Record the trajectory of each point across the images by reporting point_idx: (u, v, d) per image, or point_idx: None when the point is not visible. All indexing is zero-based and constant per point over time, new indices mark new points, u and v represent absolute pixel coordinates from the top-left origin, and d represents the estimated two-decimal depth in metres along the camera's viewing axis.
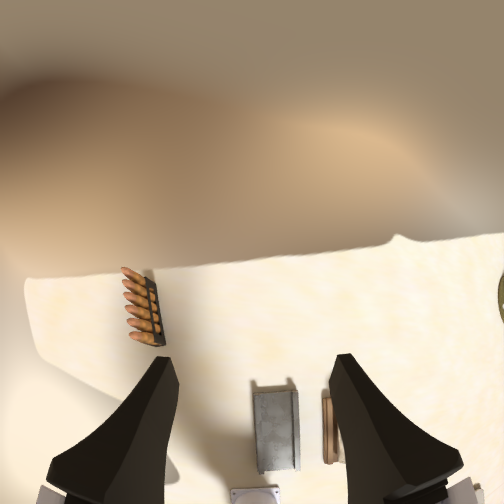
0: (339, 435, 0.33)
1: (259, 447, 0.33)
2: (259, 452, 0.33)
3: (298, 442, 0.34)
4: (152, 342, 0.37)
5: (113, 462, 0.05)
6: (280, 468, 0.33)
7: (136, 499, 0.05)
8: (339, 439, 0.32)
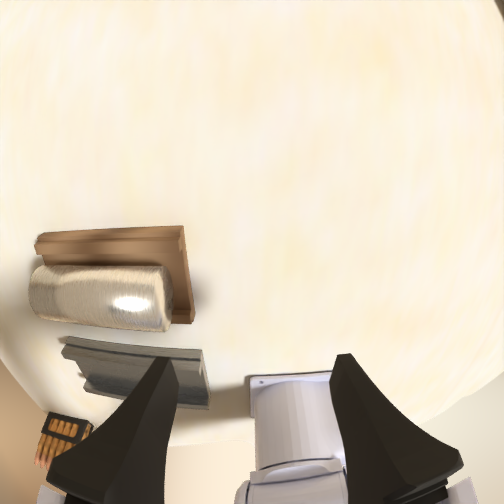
0: None
1: None
2: None
3: (137, 367, 0.20)
4: None
5: (113, 462, 0.05)
6: (202, 380, 0.23)
7: (136, 499, 0.05)
8: None
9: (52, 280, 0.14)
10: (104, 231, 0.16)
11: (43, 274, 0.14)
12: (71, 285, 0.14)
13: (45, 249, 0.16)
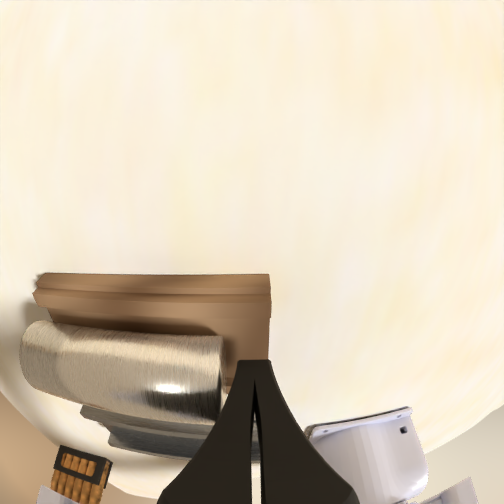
0: None
1: None
2: None
3: (184, 434, 0.15)
4: (99, 485, 0.22)
5: (240, 480, 0.05)
6: None
7: None
8: None
9: (51, 353, 0.09)
10: (142, 280, 0.11)
11: (37, 341, 0.09)
12: (80, 366, 0.09)
13: (50, 301, 0.11)
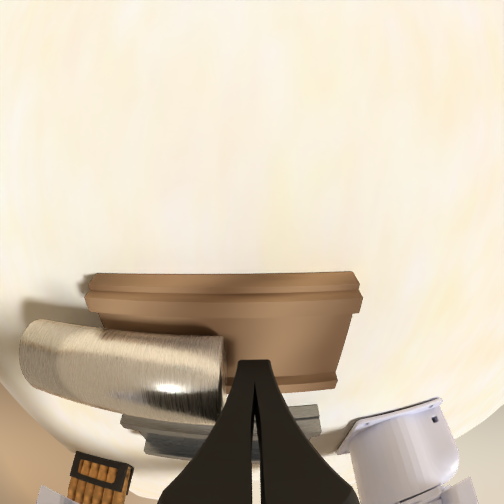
0: None
1: None
2: (257, 462, 0.18)
3: None
4: (122, 492, 0.22)
5: (240, 480, 0.05)
6: None
7: None
8: None
9: (51, 352, 0.09)
10: (226, 280, 0.11)
11: (37, 339, 0.09)
12: (81, 366, 0.09)
13: (108, 306, 0.11)
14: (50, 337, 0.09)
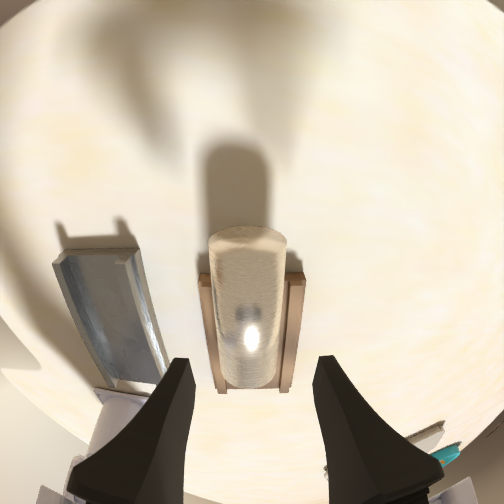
0: (215, 318, 0.16)
1: (91, 352, 0.20)
2: (95, 359, 0.20)
3: (151, 358, 0.20)
4: None
5: (139, 468, 0.05)
6: (141, 381, 0.23)
7: None
8: None
9: (278, 291, 0.14)
10: None
11: (283, 269, 0.14)
12: (273, 321, 0.15)
13: (295, 301, 0.18)
14: (283, 279, 0.15)
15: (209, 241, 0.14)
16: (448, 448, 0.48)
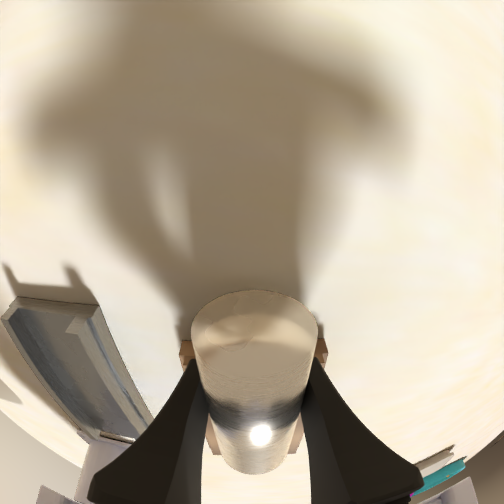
0: None
1: (64, 409, 0.14)
2: (69, 415, 0.14)
3: (130, 425, 0.14)
4: None
5: (164, 473, 0.05)
6: (125, 435, 0.17)
7: None
8: None
9: (304, 389, 0.09)
10: None
11: None
12: (295, 419, 0.09)
13: None
14: None
15: (192, 334, 0.08)
16: (454, 463, 0.43)
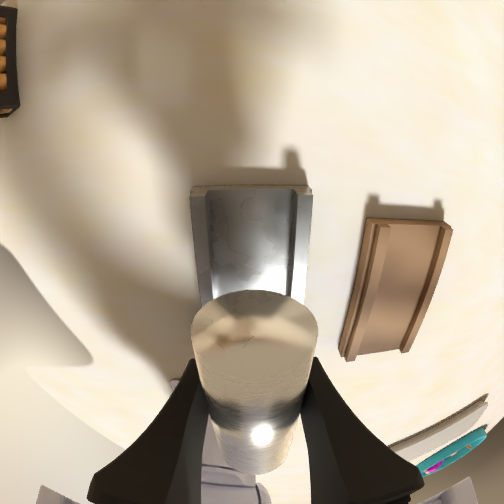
0: None
1: None
2: None
3: None
4: None
5: (164, 473, 0.05)
6: None
7: None
8: None
9: (304, 389, 0.09)
10: None
11: None
12: (295, 419, 0.09)
13: (445, 245, 0.16)
14: None
15: (192, 334, 0.08)
16: (478, 430, 0.46)
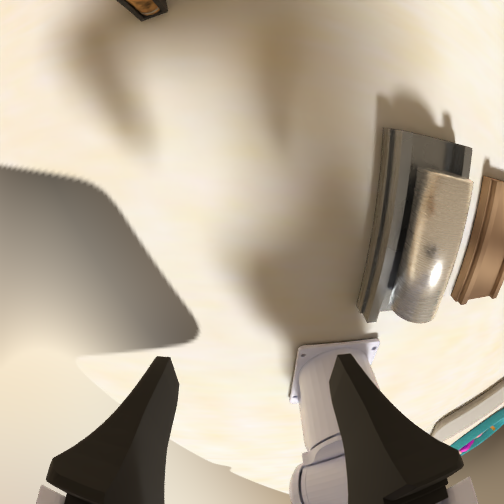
0: (414, 250, 0.15)
1: (386, 264, 0.17)
2: (383, 276, 0.17)
3: None
4: None
5: (113, 462, 0.05)
6: None
7: (136, 499, 0.05)
8: (412, 260, 0.15)
9: None
10: None
11: None
12: None
13: None
14: None
15: (428, 172, 0.13)
16: None
